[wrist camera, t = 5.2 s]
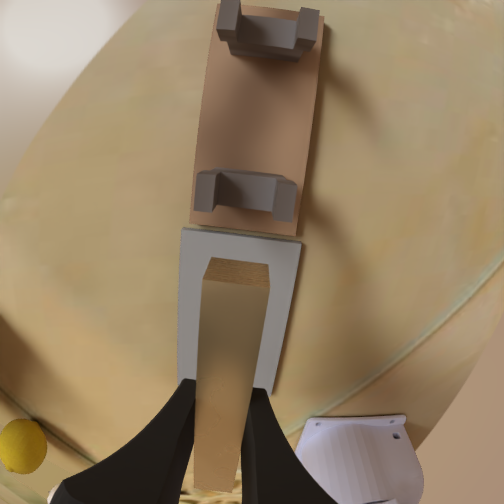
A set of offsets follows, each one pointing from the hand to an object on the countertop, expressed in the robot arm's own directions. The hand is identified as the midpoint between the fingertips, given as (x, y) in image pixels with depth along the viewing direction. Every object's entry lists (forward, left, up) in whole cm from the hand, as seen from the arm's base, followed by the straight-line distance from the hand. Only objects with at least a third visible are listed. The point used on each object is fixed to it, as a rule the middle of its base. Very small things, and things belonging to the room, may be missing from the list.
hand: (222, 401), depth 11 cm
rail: (0, 0, -1) cm, 1 cm away
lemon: (+21, +20, -10) cm, 31 cm away
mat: (0, +2, -9) cm, 10 cm away
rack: (0, -11, -9) cm, 14 cm away
